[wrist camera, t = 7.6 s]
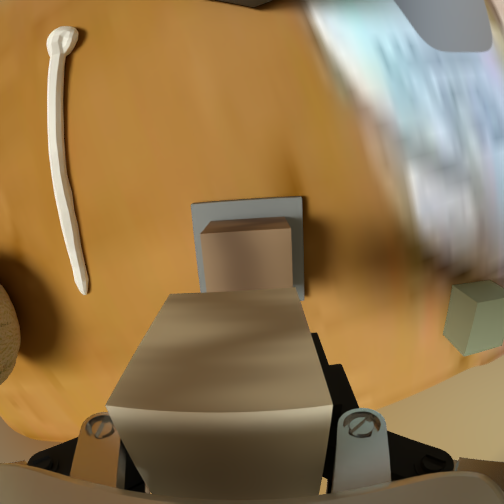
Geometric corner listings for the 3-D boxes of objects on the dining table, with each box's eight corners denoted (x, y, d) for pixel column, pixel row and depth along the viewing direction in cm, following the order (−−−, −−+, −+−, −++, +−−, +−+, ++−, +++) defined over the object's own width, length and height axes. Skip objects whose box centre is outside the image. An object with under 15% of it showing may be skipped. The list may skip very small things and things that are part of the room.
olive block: (489, 279, 28) (515, 295, 23) (479, 326, 30) (501, 345, 25) (451, 284, 28) (477, 302, 23) (442, 333, 30) (463, 356, 25)
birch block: (295, 287, 11) (332, 405, 5) (295, 409, 13) (312, 524, 7) (169, 294, 11) (105, 405, 5) (195, 413, 13) (172, 524, 7)
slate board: (300, 196, 26) (301, 197, 25) (302, 295, 28) (304, 300, 27) (193, 203, 26) (190, 204, 25) (204, 301, 29) (202, 305, 28)
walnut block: (284, 216, 25) (291, 228, 21) (286, 285, 27) (293, 311, 22) (210, 221, 26) (200, 234, 21) (217, 289, 27) (209, 315, 22)
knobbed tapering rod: (112, 290, 29) (100, 301, 26) (80, 292, 29) (67, 303, 26) (85, 24, 22) (72, 14, 19) (53, 37, 22) (39, 30, 19)
